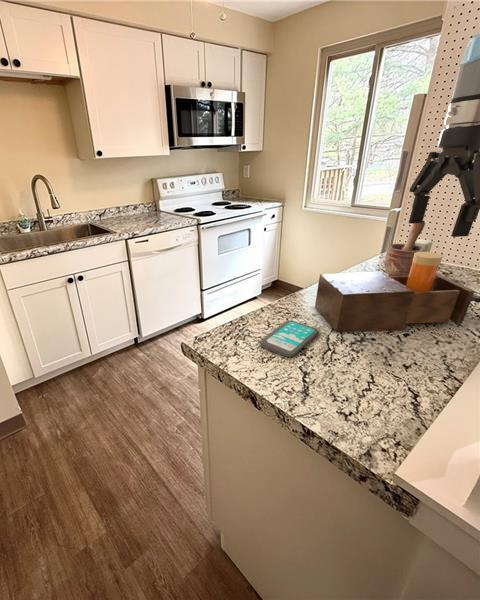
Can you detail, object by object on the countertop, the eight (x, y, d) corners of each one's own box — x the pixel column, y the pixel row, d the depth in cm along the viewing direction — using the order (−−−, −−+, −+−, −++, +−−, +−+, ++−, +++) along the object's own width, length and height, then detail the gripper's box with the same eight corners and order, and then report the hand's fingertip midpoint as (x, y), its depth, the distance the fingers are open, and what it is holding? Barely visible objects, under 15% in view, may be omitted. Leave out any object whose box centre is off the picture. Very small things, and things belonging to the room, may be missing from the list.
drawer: (444, 301, 85) (455, 271, 82) (484, 323, 74) (499, 290, 70) (368, 304, 88) (375, 275, 84) (396, 326, 77) (406, 294, 73)
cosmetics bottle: (410, 265, 112) (418, 238, 107) (425, 268, 108) (434, 240, 104) (403, 269, 109) (410, 241, 105) (417, 272, 106) (426, 243, 102)
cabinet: (372, 305, 89) (380, 271, 84) (403, 330, 76) (415, 291, 72) (314, 307, 91) (319, 274, 86) (335, 332, 78) (343, 294, 74)
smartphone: (257, 341, 76) (288, 318, 84) (257, 345, 76) (287, 321, 85) (292, 355, 70) (321, 329, 78) (291, 359, 70) (320, 332, 78)
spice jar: (422, 306, 82) (440, 252, 75) (426, 315, 78) (445, 258, 71) (397, 304, 84) (412, 250, 78) (400, 312, 80) (416, 257, 74)
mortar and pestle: (378, 277, 105) (392, 218, 97) (410, 281, 100) (428, 219, 92) (378, 290, 97) (394, 226, 88) (414, 294, 92) (434, 227, 84)
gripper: (406, 130, 75) (385, 219, 84) (505, 122, 52) (461, 244, 61) (441, 127, 74) (415, 217, 83) (556, 116, 51) (504, 242, 60)
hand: (435, 229), depth 72 cm, fingers open, 13 cm apart
